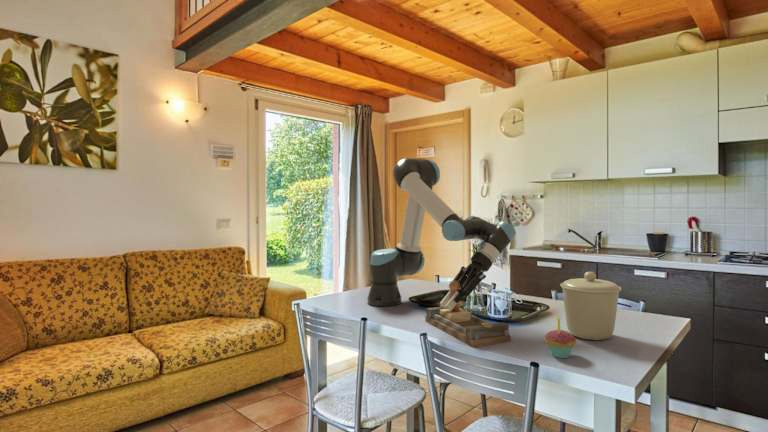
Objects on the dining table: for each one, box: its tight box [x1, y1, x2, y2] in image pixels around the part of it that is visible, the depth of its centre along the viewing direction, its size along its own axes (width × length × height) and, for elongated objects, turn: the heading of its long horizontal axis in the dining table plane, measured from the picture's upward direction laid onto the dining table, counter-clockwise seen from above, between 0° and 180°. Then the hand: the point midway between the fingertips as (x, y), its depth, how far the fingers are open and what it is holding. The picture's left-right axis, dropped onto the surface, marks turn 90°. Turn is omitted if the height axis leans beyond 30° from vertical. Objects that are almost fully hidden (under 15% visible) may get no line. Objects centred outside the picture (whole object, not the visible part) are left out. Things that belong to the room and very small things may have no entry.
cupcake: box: [544, 315, 577, 359], centre depth 126 cm, size 9×8×12 cm
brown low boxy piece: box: [424, 304, 512, 348], centre depth 151 cm, size 32×14×6 cm, turn 22°
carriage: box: [440, 279, 472, 323], centre depth 157 cm, size 8×8×14 cm
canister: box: [559, 271, 622, 341], centre depth 143 cm, size 18×18×21 cm
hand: (445, 306), depth 156 cm, fingers closed on carriage, 3 cm apart
